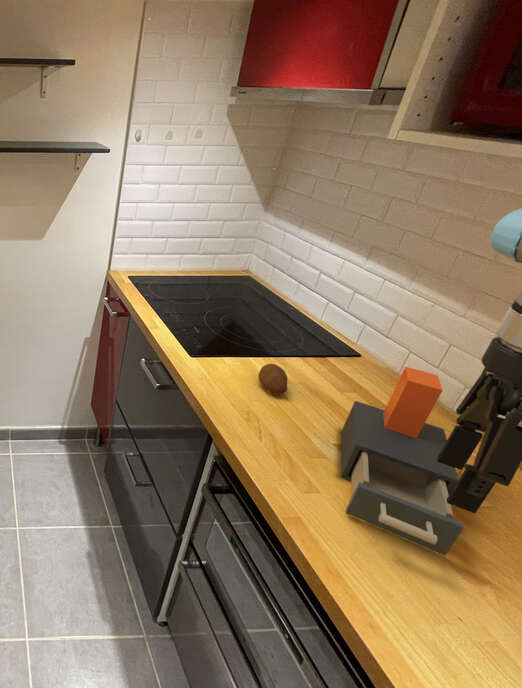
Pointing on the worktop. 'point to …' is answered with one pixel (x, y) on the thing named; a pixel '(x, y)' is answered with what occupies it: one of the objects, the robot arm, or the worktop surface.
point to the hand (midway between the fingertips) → (454, 484)
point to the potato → (273, 379)
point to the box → (412, 402)
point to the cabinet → (393, 444)
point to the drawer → (403, 502)
